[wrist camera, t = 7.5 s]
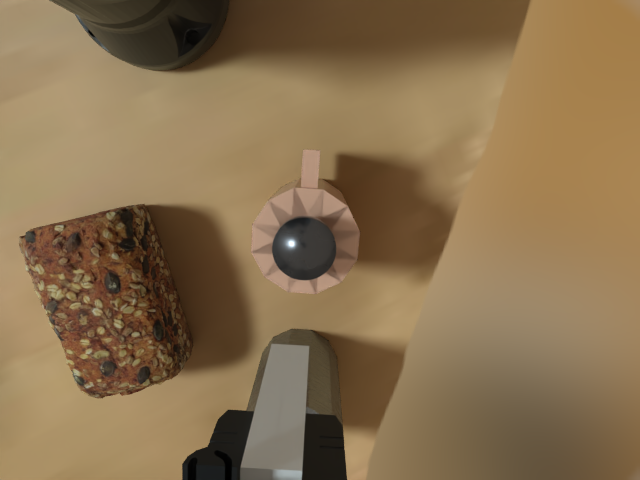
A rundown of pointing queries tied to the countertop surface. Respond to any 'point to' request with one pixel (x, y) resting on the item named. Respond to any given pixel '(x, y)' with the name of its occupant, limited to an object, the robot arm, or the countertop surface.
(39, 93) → the countertop surface
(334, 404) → the faceted cylinder
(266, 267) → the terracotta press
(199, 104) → the countertop surface
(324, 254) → the glossy charcoal round knob
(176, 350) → the bread
